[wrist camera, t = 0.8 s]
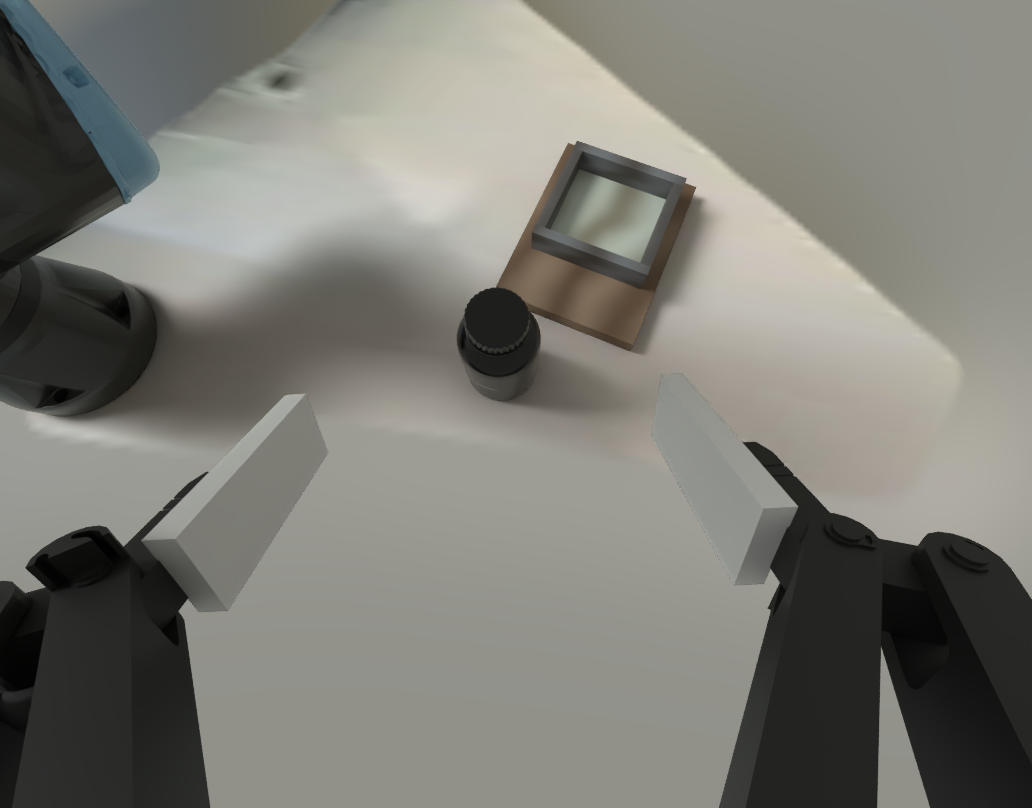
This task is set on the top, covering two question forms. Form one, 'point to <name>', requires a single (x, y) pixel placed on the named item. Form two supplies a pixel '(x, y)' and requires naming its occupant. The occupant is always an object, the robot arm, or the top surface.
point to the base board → (598, 243)
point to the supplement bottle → (499, 343)
